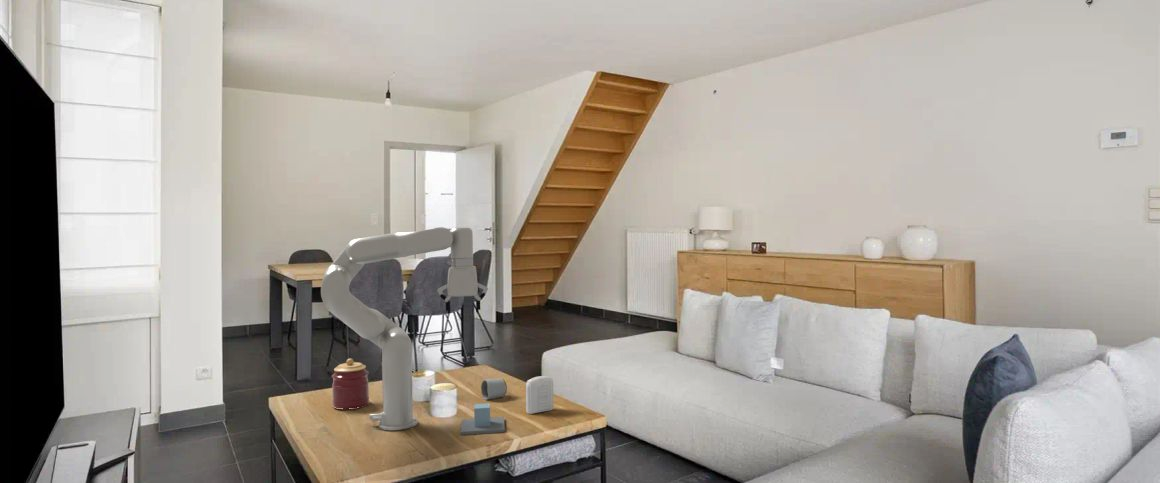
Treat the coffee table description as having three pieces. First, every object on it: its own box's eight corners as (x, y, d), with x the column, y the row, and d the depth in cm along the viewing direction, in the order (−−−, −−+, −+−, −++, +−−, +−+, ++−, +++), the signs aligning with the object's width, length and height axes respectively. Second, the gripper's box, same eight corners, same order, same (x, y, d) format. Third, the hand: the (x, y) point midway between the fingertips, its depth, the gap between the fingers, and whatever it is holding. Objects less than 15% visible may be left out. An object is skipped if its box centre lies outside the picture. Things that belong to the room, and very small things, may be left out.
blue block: (474, 426, 203) (474, 408, 203) (475, 422, 208) (474, 404, 208) (490, 425, 203) (489, 407, 203) (490, 421, 208) (489, 403, 208)
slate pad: (460, 434, 198) (460, 431, 198) (462, 422, 211) (461, 419, 211) (504, 432, 200) (504, 428, 200) (503, 419, 213) (503, 416, 213)
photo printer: (549, 407, 227) (548, 373, 227) (555, 410, 223) (554, 375, 223) (524, 412, 221) (523, 377, 221) (530, 415, 218) (529, 379, 217)
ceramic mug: (508, 398, 240) (507, 378, 240) (489, 401, 235) (488, 381, 235) (496, 393, 249) (495, 373, 249) (477, 396, 244) (476, 376, 244)
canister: (373, 406, 232) (372, 359, 232) (337, 412, 225) (335, 364, 225) (364, 398, 243) (362, 353, 243) (328, 404, 236) (327, 358, 235)
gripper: (435, 264, 211) (436, 315, 212) (487, 263, 214) (488, 313, 214) (437, 263, 219) (438, 312, 219) (487, 262, 221) (488, 310, 222)
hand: (463, 312), depth 217 cm, fingers open, 9 cm apart
